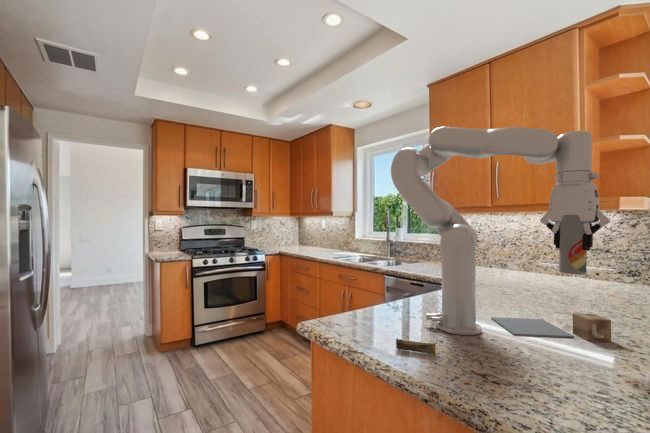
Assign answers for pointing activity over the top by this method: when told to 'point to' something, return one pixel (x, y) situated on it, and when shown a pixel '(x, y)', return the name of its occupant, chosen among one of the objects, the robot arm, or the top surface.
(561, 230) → the lotion bottle
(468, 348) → the top surface
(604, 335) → the letter cube
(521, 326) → the grey mat
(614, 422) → the top surface
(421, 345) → the snack bar
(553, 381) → the top surface
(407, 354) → the top surface
